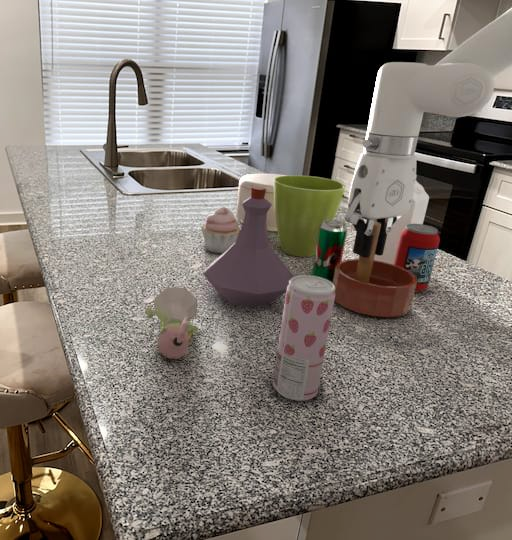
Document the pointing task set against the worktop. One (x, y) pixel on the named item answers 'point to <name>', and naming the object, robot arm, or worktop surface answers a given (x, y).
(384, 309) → the bowl
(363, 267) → the stick
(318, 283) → the beverage can
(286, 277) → the flask
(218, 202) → the worktop surface
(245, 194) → the container
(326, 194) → the flower pot
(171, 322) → the figurine
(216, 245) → the cupcake
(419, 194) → the milk carton
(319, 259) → the soda can
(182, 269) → the worktop surface
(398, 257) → the beverage can
